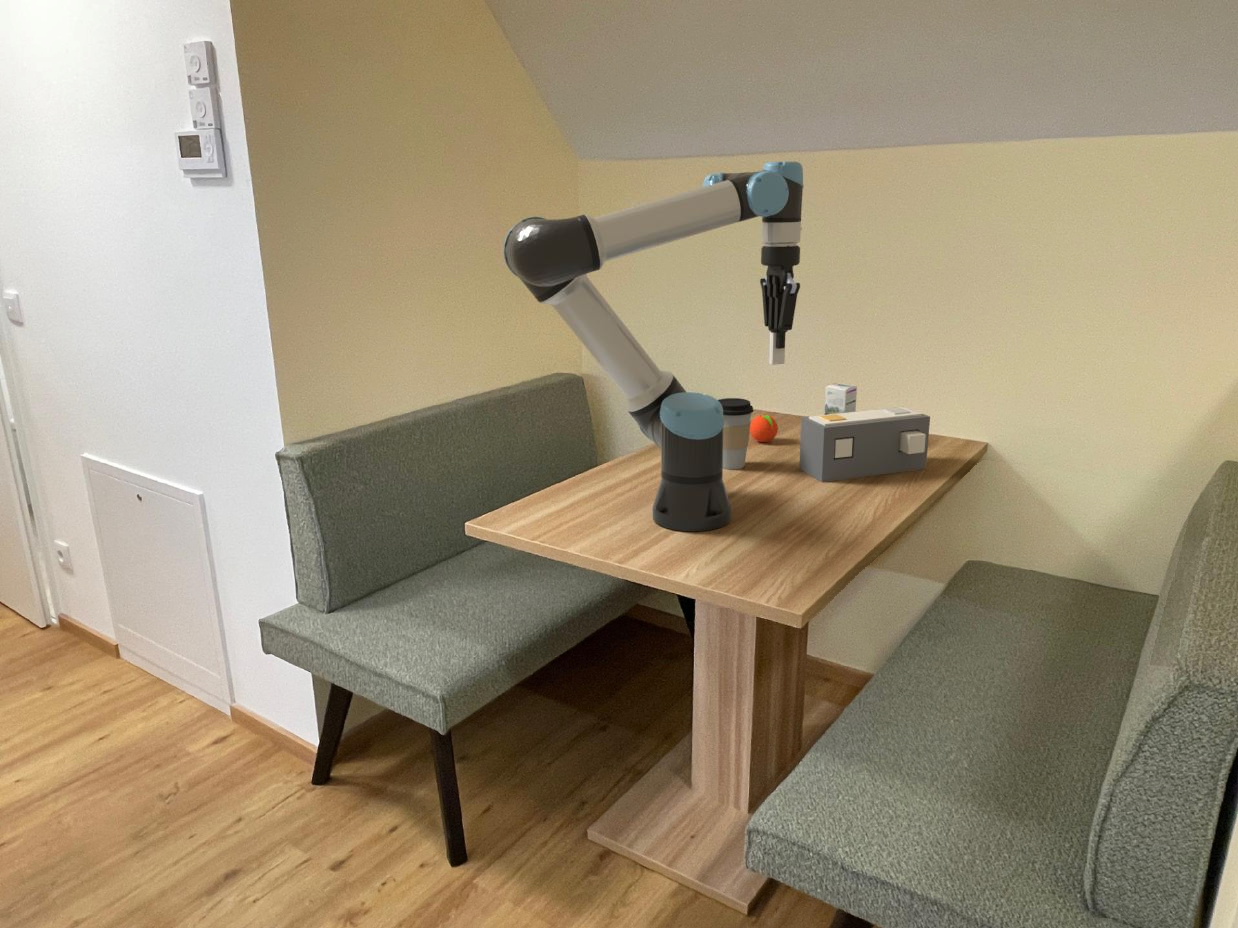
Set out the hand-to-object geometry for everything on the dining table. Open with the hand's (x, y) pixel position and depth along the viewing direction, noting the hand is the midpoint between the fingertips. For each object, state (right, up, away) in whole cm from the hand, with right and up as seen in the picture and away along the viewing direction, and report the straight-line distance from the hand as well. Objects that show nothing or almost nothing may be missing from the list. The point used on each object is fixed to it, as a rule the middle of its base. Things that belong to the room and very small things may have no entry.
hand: (776, 363), depth 180 cm
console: (+22, -22, +18) cm, 36 cm away
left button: (+15, -18, +12) cm, 27 cm away
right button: (+31, -17, +13) cm, 38 cm away
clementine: (+4, -15, +40) cm, 43 cm away
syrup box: (+22, -16, +38) cm, 47 cm away
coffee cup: (-6, -21, +22) cm, 31 cm away
